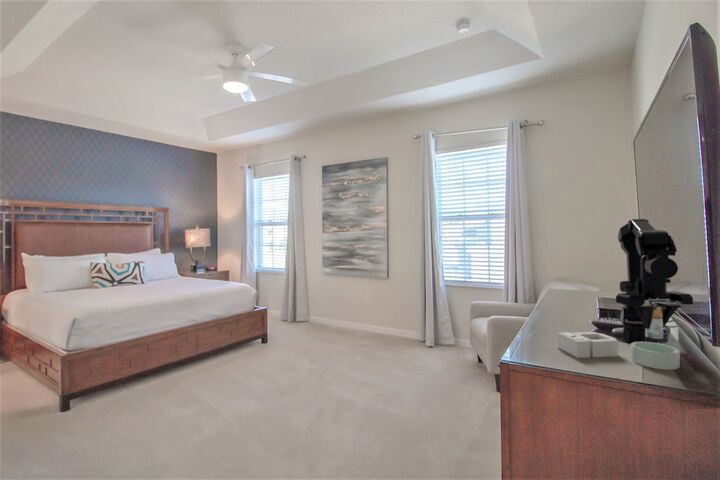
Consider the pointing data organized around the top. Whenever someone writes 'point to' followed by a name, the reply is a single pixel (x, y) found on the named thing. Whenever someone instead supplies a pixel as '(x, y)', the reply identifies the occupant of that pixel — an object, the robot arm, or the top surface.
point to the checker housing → (587, 344)
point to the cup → (655, 355)
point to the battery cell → (656, 323)
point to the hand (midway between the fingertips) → (653, 328)
